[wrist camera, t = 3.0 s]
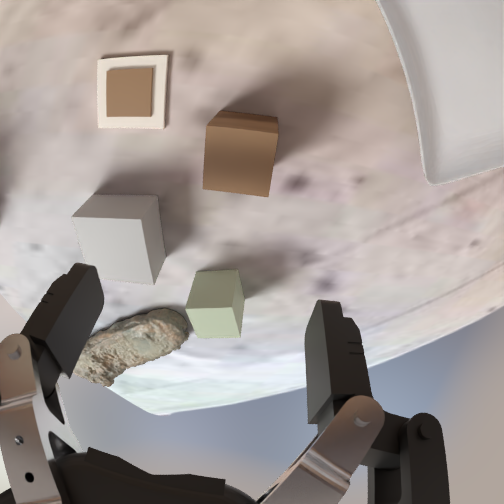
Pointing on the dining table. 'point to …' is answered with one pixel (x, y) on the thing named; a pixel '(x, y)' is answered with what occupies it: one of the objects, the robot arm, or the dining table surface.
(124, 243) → the base block
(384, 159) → the dining table surface
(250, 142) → the walnut block
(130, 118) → the swatch
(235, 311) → the sage block
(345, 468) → the robot arm
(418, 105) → the salad plate
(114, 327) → the long grey stone
